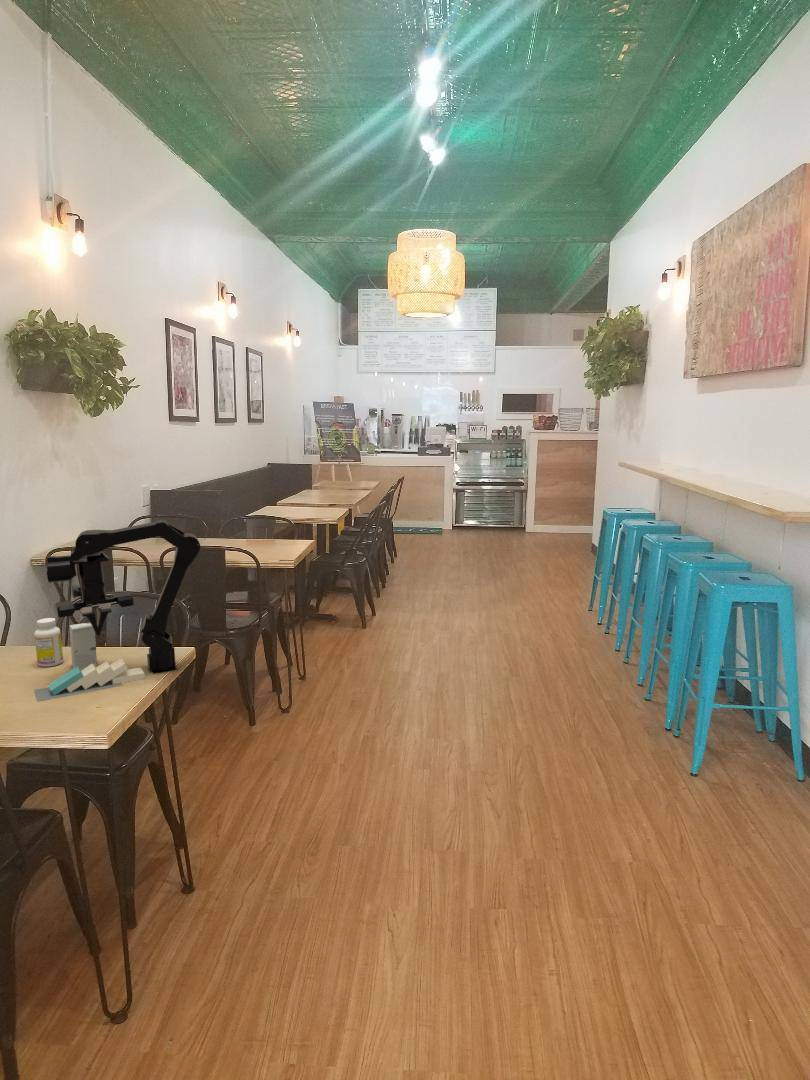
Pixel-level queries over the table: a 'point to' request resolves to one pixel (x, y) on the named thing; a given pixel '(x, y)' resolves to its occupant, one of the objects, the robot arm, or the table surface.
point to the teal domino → (65, 680)
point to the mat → (47, 694)
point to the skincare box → (83, 645)
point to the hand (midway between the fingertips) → (98, 635)
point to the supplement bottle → (48, 643)
